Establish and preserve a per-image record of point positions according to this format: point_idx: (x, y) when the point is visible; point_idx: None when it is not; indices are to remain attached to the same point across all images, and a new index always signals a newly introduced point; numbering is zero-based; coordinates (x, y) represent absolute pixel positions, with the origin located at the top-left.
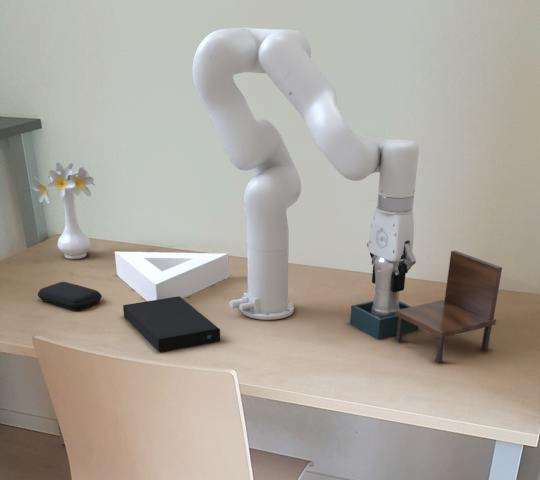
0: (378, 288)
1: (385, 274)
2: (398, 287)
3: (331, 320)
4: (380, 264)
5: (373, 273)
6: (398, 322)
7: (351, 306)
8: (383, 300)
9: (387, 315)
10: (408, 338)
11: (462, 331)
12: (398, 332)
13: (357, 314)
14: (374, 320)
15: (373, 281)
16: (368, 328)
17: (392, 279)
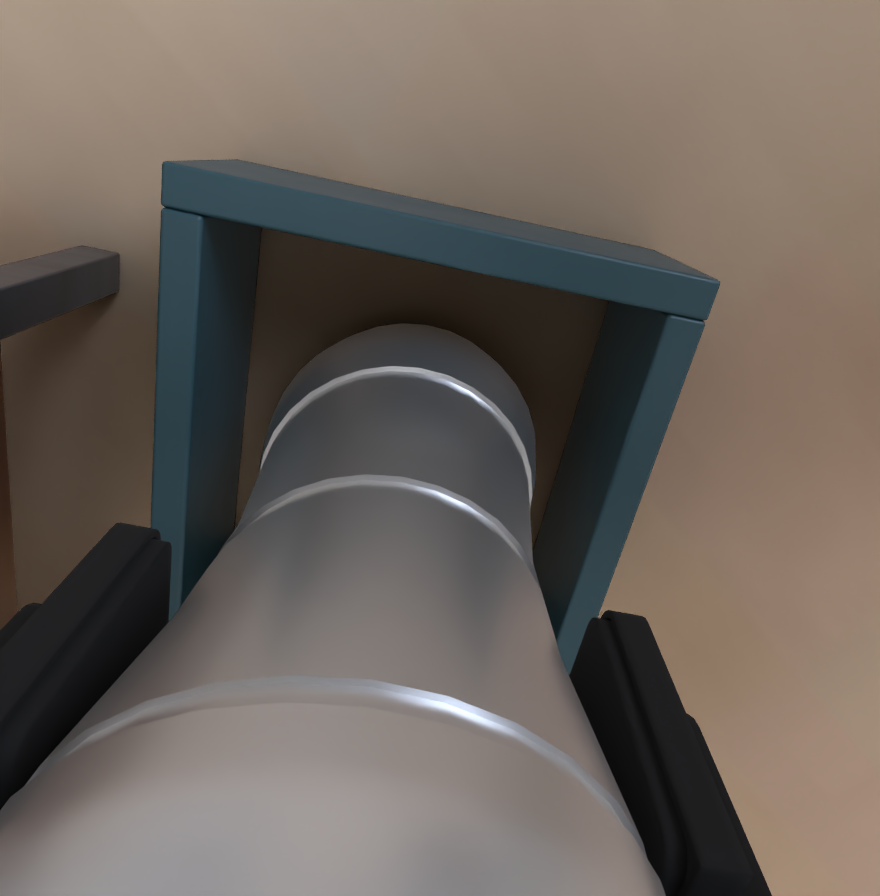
0: (390, 493)
1: (157, 677)
2: (29, 616)
3: (850, 191)
4: (232, 877)
5: (662, 724)
6: (6, 282)
7: (710, 276)
8: (314, 439)
9: (287, 397)
10: (113, 378)
11: None
12: (49, 261)
13: (579, 244)
14: (271, 181)
15: (613, 625)
16: (381, 195)
17: (43, 659)
